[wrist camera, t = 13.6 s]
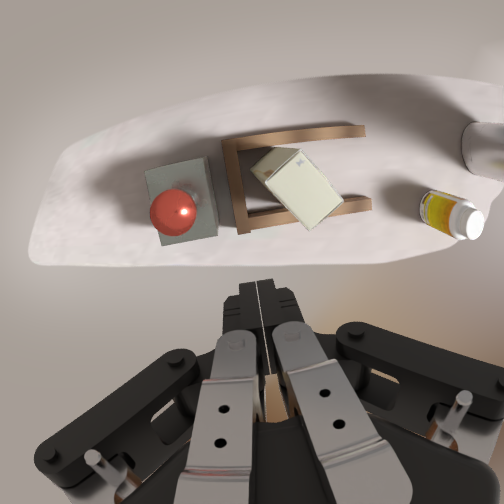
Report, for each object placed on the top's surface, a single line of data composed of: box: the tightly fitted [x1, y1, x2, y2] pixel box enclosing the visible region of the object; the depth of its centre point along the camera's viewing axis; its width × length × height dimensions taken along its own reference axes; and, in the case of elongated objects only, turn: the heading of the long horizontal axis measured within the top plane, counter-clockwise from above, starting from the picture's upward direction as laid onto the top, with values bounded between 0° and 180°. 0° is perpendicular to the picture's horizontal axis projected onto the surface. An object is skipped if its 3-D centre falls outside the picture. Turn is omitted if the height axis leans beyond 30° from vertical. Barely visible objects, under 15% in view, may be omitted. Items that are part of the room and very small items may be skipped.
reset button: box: [150, 189, 197, 236], centre depth 26 cm, size 4×4×4 cm
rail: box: [221, 125, 372, 235], centre depth 34 cm, size 18×11×3 cm, turn 99°
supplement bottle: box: [420, 190, 484, 240], centre depth 34 cm, size 6×6×10 cm
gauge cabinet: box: [144, 156, 219, 246], centre depth 32 cm, size 6×8×7 cm
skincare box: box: [250, 147, 343, 231], centre depth 30 cm, size 6×4×12 cm
